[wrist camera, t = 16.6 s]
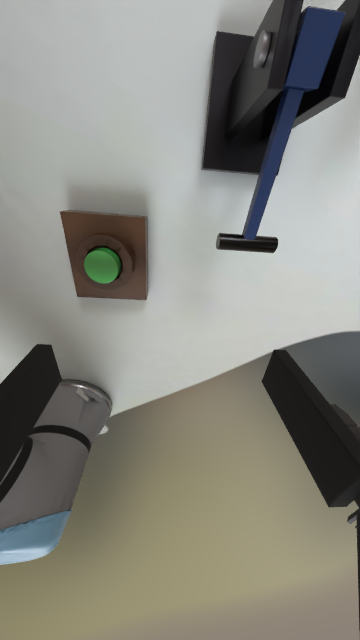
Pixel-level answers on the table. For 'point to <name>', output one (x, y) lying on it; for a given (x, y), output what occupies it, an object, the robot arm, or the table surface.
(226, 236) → the lever
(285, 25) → the lever bracket
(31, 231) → the table surface
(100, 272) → the green button
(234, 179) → the table surface
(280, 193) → the table surface
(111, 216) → the switch block
